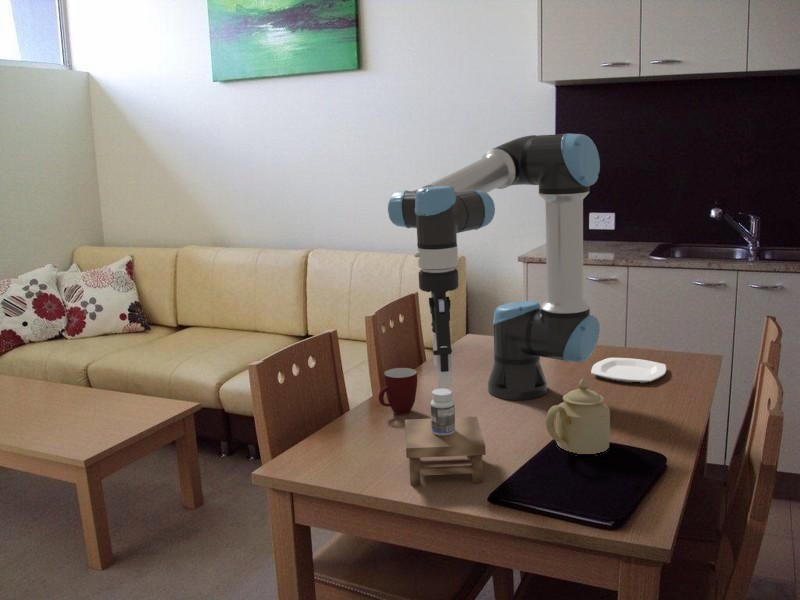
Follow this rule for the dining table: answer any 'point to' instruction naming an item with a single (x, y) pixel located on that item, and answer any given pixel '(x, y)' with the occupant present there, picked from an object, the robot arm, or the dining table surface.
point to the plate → (629, 369)
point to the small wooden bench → (444, 448)
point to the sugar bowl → (580, 422)
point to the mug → (399, 389)
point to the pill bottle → (442, 412)
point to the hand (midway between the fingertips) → (442, 375)
